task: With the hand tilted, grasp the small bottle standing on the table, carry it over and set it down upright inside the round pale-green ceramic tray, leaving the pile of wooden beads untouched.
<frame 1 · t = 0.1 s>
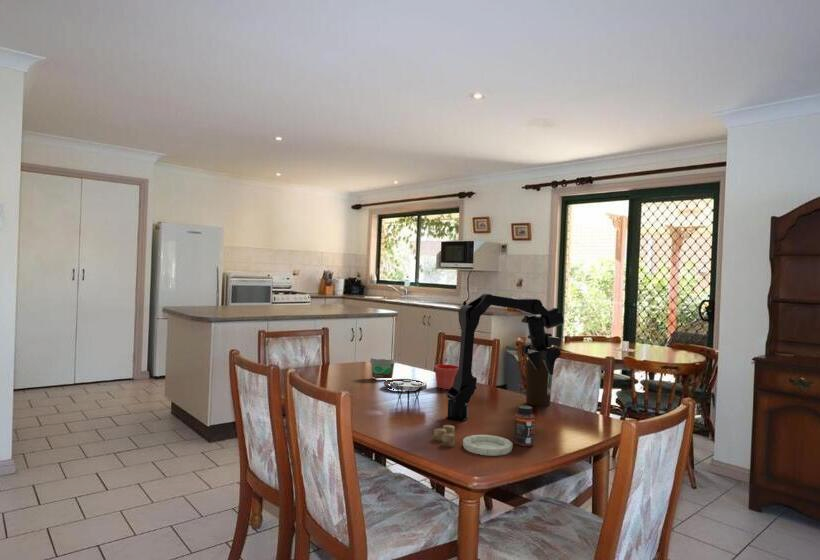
hand: (544, 372, 204), 15 cm above the table, tool pointing down, fingers open, 9 cm apart
wooden bead B: (440, 439, 167), on the table
olive oil: (538, 404, 221), on the table
wooden bead A: (448, 436, 171), on the table
supplement bottle: (523, 444, 165), on the table
flower pot: (446, 388, 245), on the table
wooden bead C: (448, 445, 162), on the table
round tray: (487, 447, 161), on the table
food container: (380, 380, 259), on the table
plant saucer: (403, 389, 240), on the table
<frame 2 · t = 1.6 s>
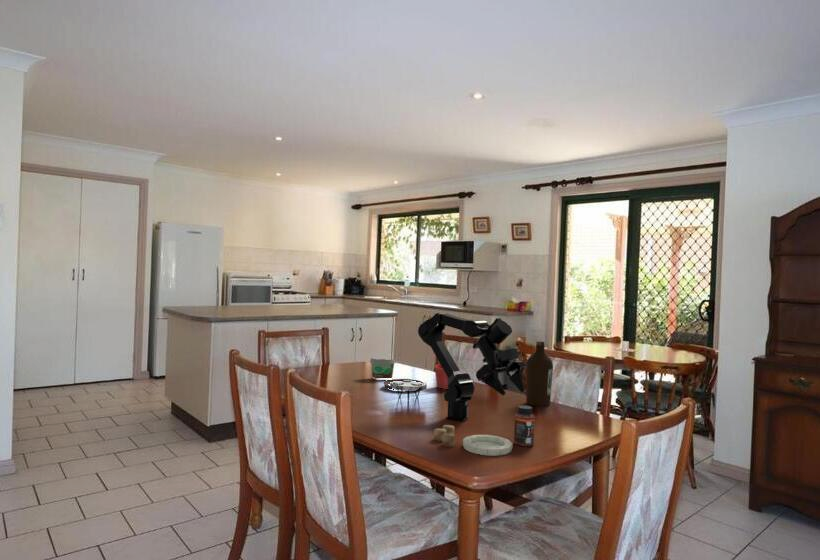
hand: (514, 393, 173), 14 cm above the table, tool tilted 40°, fingers open, 9 cm apart
nothing on the table moved.
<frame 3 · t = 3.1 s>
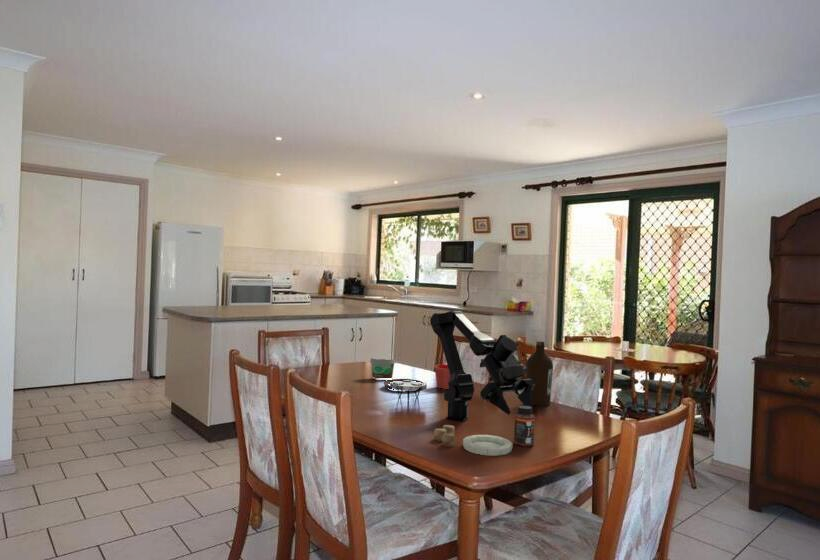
hand: (520, 412, 167), 9 cm above the table, tool tilted 45°, fingers open, 9 cm apart
nothing on the table moved.
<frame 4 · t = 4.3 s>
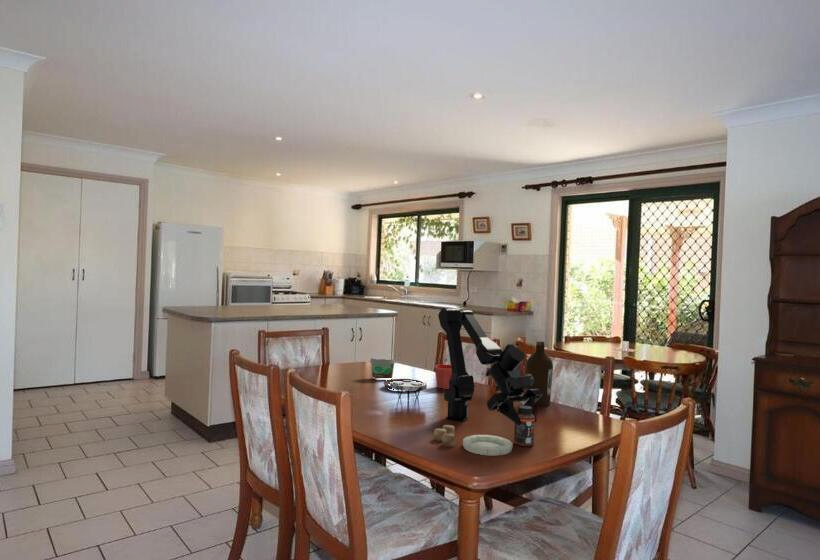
hand: (528, 423, 164), 7 cm above the table, tool tilted 45°, fingers closed on supplement bottle, 6 cm apart
supplement bottle: (523, 444, 165), on the table, touching gripper
everything else where it was.
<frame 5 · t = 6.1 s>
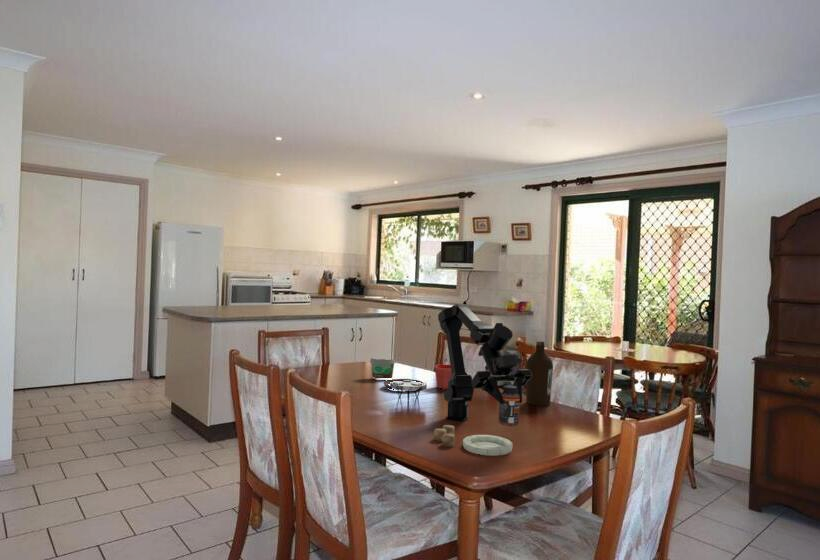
hand: (511, 402, 161), 13 cm above the table, tool tilted 45°, fingers closed on supplement bottle, 6 cm apart
supplement bottle: (508, 424, 163), point 6 cm above the table, touching gripper
everything else where it was.
when the fingers open (8 cm above the table, at t = 8.0 s): supplement bottle stays where it is, resting on round tray.
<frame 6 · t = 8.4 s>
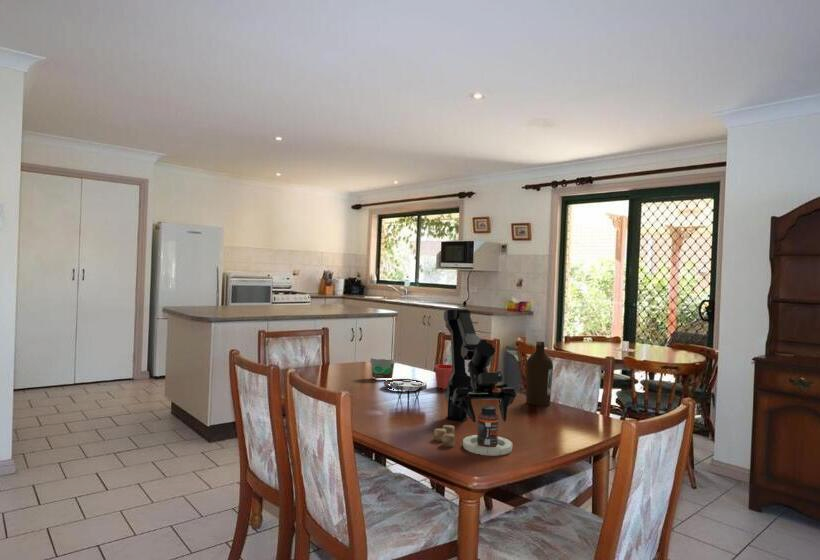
hand: (489, 421, 159), 8 cm above the table, tool tilted 45°, fingers open, 9 cm apart
supplement bottle: (487, 446, 161), resting on round tray
everything else where it was.
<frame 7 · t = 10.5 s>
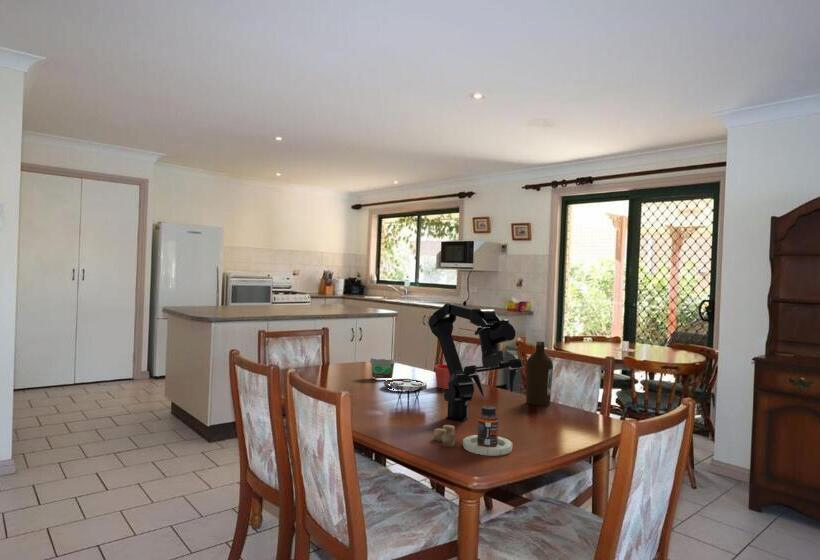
hand: (497, 394, 176), 13 cm above the table, tool tilted 15°, fingers open, 9 cm apart
nothing on the table moved.
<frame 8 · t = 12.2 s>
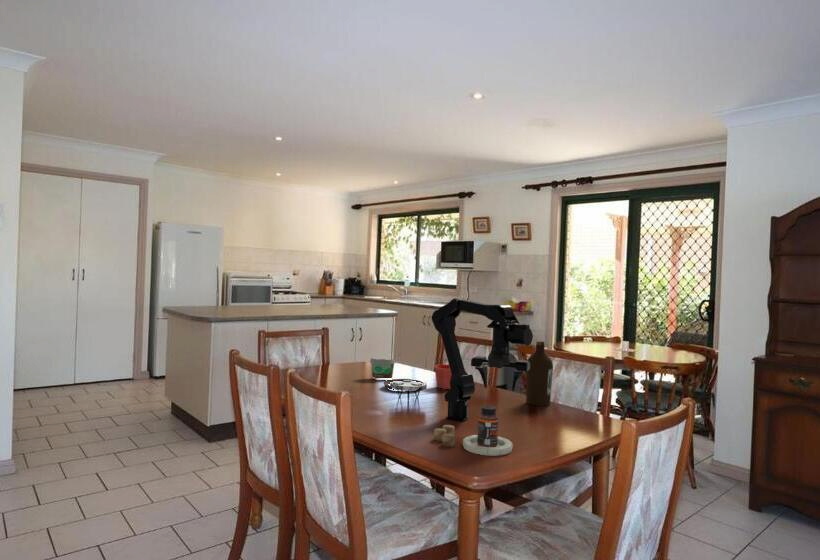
hand: (499, 389, 182), 13 cm above the table, tool pointing down, fingers open, 9 cm apart
nothing on the table moved.
at the end: supplement bottle inside the target area on the round tray (0.1 cm from its centre), point 0.4 cm above the round tray's base; supplement bottle tilted 0°; the gripper is holding nothing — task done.
